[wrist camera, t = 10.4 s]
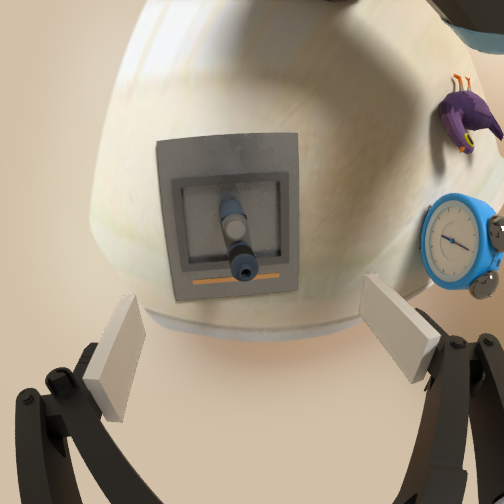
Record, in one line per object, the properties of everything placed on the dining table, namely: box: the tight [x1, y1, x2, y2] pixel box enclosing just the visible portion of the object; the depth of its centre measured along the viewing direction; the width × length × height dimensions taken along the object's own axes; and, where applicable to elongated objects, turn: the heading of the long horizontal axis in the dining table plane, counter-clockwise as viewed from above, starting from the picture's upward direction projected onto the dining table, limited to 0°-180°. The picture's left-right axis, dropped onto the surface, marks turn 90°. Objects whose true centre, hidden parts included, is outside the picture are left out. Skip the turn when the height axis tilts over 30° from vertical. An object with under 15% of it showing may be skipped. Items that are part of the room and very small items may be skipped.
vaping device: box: [219, 200, 259, 282], centre depth 28 cm, size 3×5×12 cm, turn 9°
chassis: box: [157, 133, 299, 301], centre depth 34 cm, size 20×16×2 cm
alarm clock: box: [419, 193, 504, 300], centre depth 32 cm, size 13×6×15 cm, turn 174°
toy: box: [439, 74, 503, 154], centre depth 29 cm, size 11×12×7 cm
